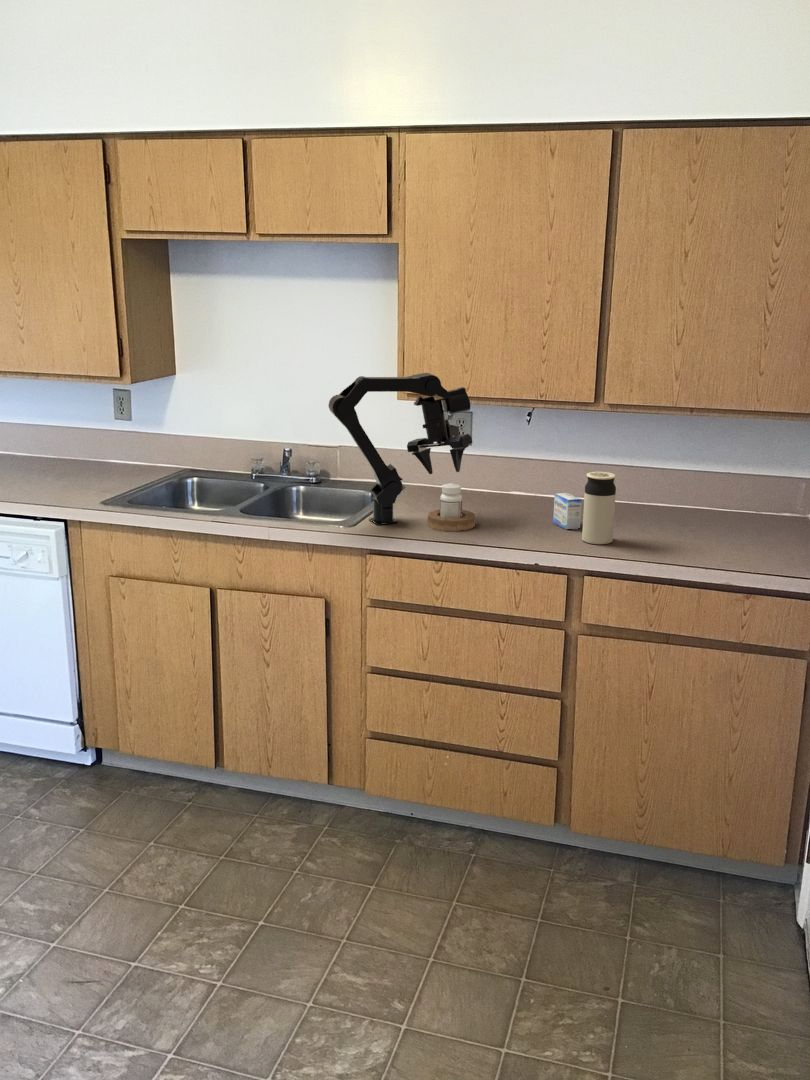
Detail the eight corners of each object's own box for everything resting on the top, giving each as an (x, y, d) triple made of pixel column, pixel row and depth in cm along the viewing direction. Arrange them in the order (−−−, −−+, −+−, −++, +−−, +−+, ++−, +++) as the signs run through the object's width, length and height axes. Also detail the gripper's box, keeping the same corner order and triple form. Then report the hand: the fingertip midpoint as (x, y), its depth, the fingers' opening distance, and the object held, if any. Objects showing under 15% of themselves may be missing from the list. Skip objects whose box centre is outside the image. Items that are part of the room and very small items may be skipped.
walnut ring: (420, 521, 284) (420, 511, 283) (460, 517, 289) (461, 507, 289) (441, 533, 273) (441, 522, 272) (483, 528, 278) (483, 517, 277)
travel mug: (590, 546, 262) (594, 478, 257) (576, 538, 269) (580, 472, 264) (617, 543, 264) (622, 476, 259) (603, 535, 271) (607, 470, 266)
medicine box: (552, 523, 283) (553, 493, 281) (566, 522, 285) (568, 492, 283) (566, 530, 276) (568, 499, 274) (580, 529, 278) (582, 498, 275)
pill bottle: (449, 521, 285) (450, 482, 282) (466, 524, 281) (467, 485, 278) (435, 525, 281) (435, 485, 278) (452, 529, 277) (452, 489, 274)
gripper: (477, 409, 280) (487, 464, 284) (422, 415, 291) (432, 468, 295) (456, 417, 271) (466, 473, 275) (401, 423, 282) (411, 477, 286)
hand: (444, 472), depth 283 cm, fingers open, 9 cm apart
